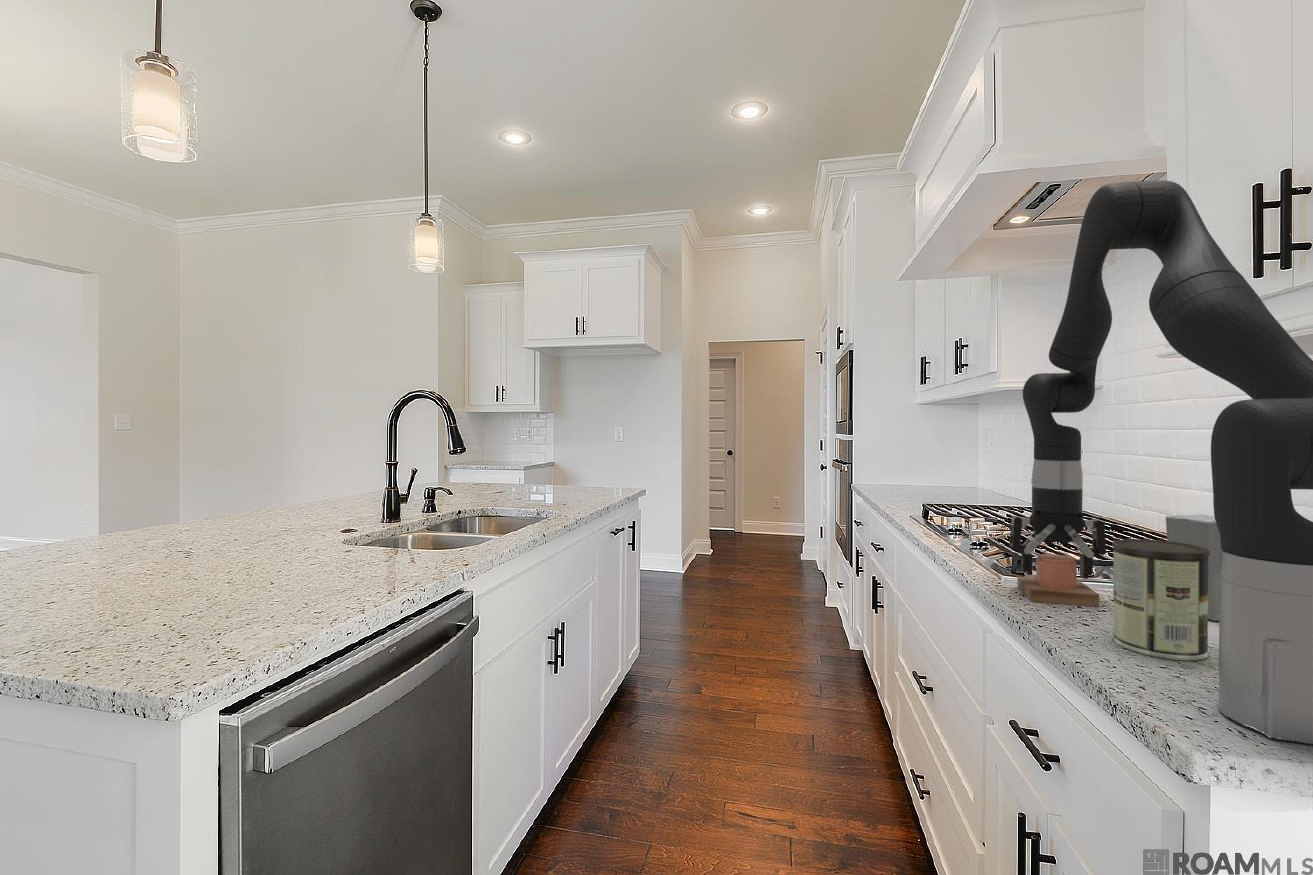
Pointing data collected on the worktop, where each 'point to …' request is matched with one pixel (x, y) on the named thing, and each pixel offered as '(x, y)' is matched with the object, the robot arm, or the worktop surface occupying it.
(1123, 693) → the worktop surface
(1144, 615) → the coffee can
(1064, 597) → the peg block
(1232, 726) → the worktop surface
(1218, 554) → the skincare box
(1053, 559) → the cap
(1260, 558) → the robot arm
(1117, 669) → the worktop surface
